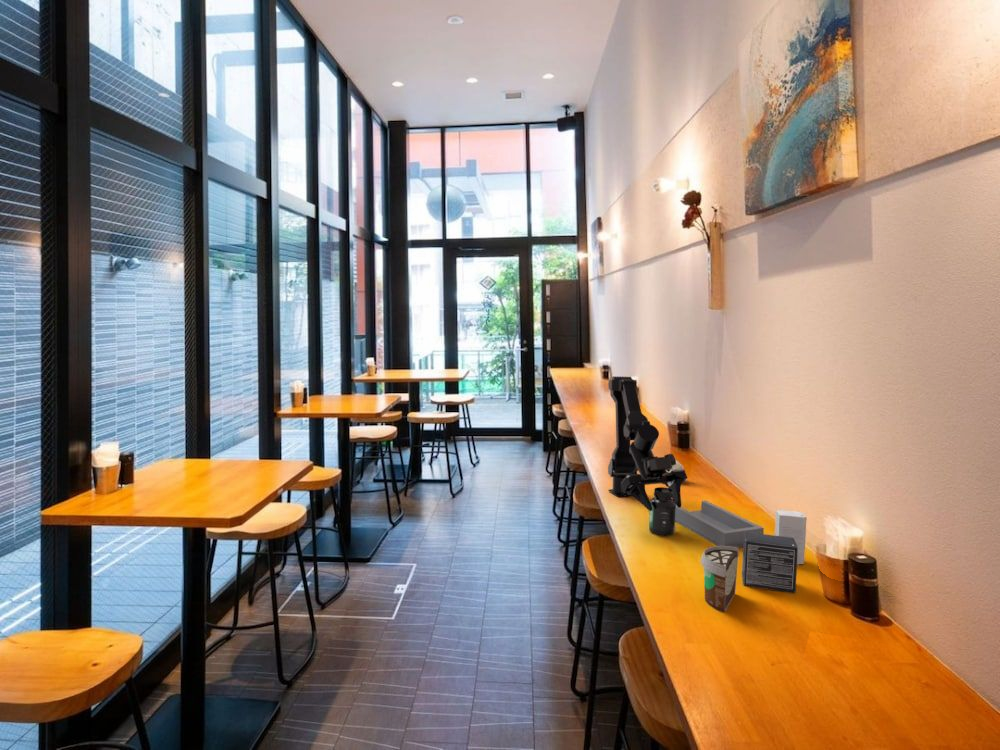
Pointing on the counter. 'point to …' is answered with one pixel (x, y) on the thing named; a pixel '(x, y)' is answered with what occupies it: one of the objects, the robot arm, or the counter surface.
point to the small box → (769, 562)
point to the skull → (674, 468)
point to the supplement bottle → (662, 512)
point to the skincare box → (792, 529)
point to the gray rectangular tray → (717, 524)
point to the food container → (720, 575)
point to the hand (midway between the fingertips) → (665, 508)
